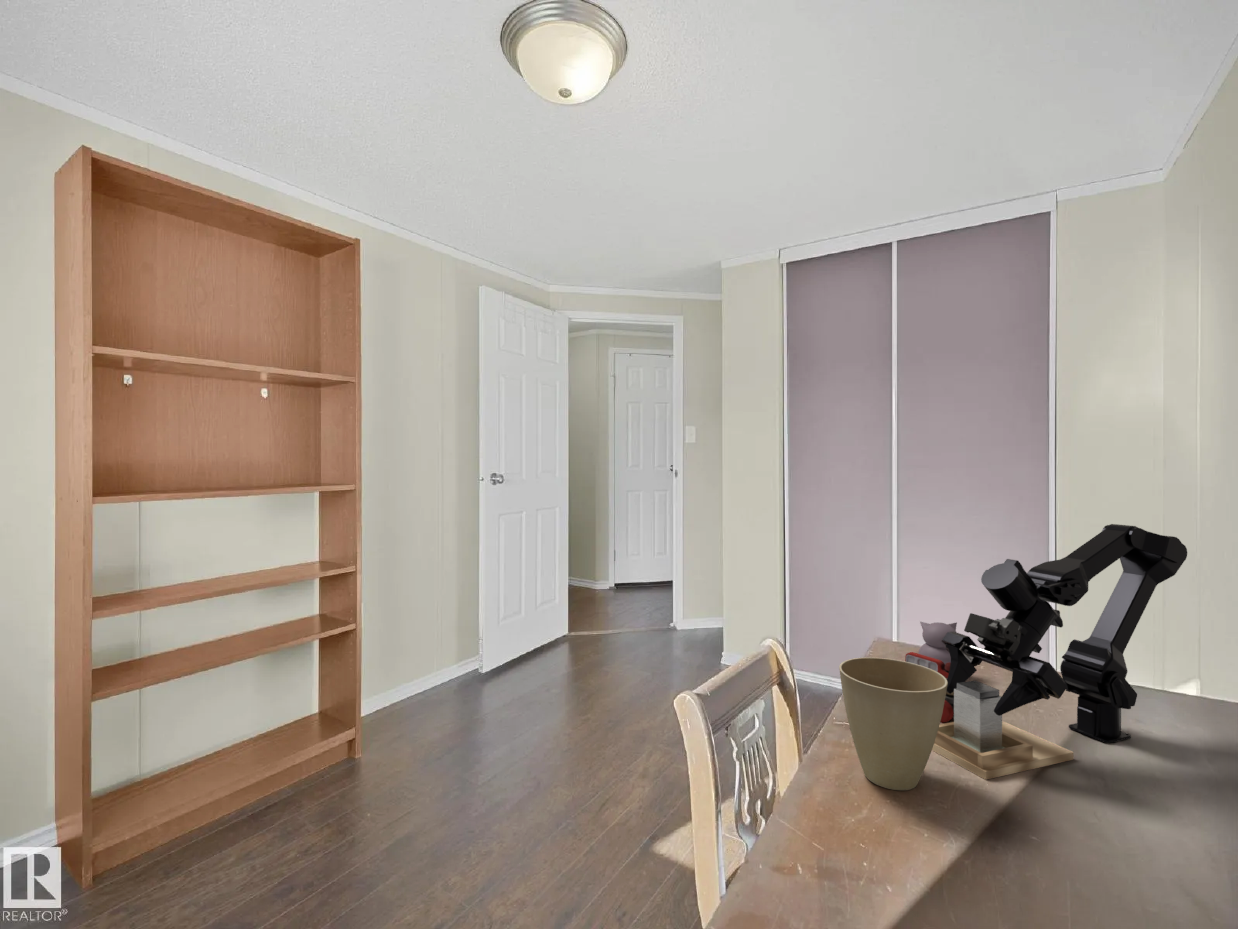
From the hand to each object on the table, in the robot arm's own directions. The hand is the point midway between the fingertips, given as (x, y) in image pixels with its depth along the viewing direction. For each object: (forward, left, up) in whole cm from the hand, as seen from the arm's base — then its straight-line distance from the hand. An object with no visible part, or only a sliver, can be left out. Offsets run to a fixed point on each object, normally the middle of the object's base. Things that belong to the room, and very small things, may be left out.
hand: (970, 702), depth 97 cm
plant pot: (+17, +1, -9) cm, 19 cm away
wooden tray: (-5, 0, -9) cm, 10 cm away
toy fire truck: (-9, -15, -9) cm, 20 cm away
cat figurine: (-26, -30, -9) cm, 41 cm away
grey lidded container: (-1, 0, -8) cm, 8 cm away
